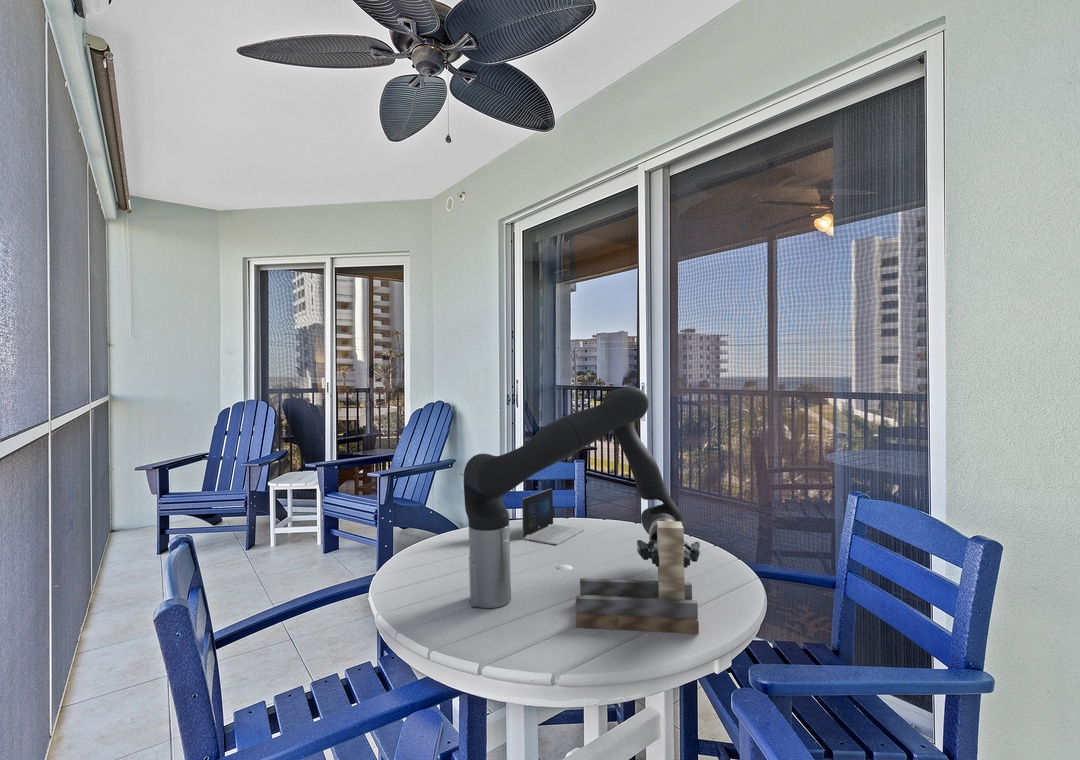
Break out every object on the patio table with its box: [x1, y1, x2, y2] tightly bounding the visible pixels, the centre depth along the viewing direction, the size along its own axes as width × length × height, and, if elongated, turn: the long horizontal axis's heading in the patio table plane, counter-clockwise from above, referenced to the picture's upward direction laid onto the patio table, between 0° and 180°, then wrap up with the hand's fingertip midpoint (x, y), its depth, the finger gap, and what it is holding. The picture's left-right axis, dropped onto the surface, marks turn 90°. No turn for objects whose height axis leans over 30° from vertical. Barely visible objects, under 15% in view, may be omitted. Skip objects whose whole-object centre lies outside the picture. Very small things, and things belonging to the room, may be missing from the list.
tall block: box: [657, 521, 685, 600], centre depth 112 cm, size 5×5×16 cm
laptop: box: [521, 487, 585, 546], centre depth 173 cm, size 18×12×13 cm
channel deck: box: [575, 577, 700, 635], centre depth 114 cm, size 24×13×6 cm, turn 81°
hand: (671, 562), depth 110 cm, fingers closed on tall block, 5 cm apart
